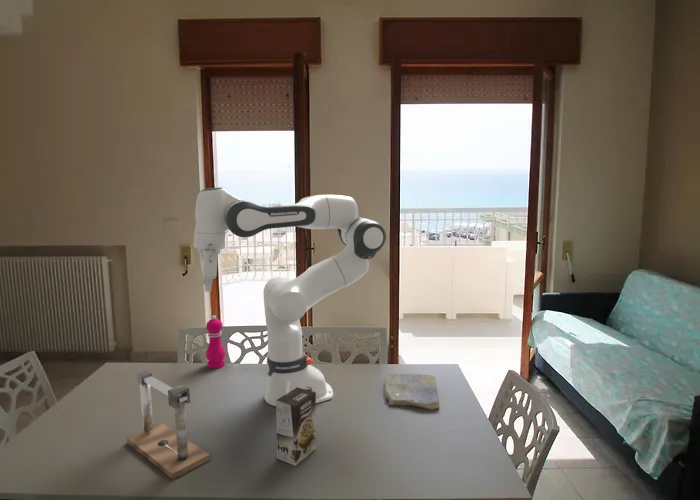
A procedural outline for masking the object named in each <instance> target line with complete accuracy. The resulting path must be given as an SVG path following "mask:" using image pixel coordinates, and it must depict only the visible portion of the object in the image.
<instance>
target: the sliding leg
mask: <svg viewBox="0 0 700 500" xmlns="http://www.w3.org/2000/svg"><path fill="white" fill-rule="evenodd" d="M152 375H153V374H152V373H151V372H150V371H147V370H145V371H143V372H140V373H136V382H137V383H138V384H139V393H140V395H139V396H140V407H141V409H140V410H141V421H142V431H144V432H150V431H151V430H153V427H154V418H153V416H154V415H153V406H152V405H153V404H152V403H153V402H152V393H151V388H154V389H155V390H156V391H159V392H160V393H162V394H164V395H165V396H167V397H168V390H170V389H173V388H174V387H172V386H170V385H168V384H166V383H164V382H163V381H161V380H159V379H157V378H156V377H154V376H152ZM186 400H187V396H186V395H184V394H183V393H182V394H179V395H177V402H179V403H181V402H183V401H186Z"/></svg>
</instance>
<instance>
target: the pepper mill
mask: <svg viewBox="0 0 700 500" xmlns="http://www.w3.org/2000/svg"><path fill="white" fill-rule="evenodd" d="M205 327H206V331H208V332H207V336H208V339H209V344H208V346H207V348H206V349H207V350H206V353H205V358H206V359H207V360H208V361H207V368H209V369H213V370H215V369H220V368H222V367H224V366H225V364H226V362H225V357H226V350H225V347H224V345H223V344H222V340H221V339H222V338H221V336H222V334H223V333H222V328H223V322H222V320H220V319H218V318H217V316H216V315H212V316H211V319H210V320H208V321H207V322H206V325H205Z"/></svg>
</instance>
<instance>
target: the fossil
mask: <svg viewBox="0 0 700 500" xmlns="http://www.w3.org/2000/svg"><path fill="white" fill-rule="evenodd" d="M384 378H385V379H384V380H385V381H384V400H383V402H384V405H387V406H389V405H390V406H394V405H395V406H396V405H397V406H398V405H399V406H414V407H419V408H422V409H427V410H430V411H431V410H436V409H439V408H440V399H439V394H438V388H437V380H436V377H435V376H433V375H431V374H417V373H415V374H412V373H411V374H410V373H409V374H406V373H404V374H403V373H386V374H385V377H384Z"/></svg>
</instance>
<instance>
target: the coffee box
mask: <svg viewBox="0 0 700 500" xmlns="http://www.w3.org/2000/svg"><path fill="white" fill-rule="evenodd" d="M316 406H317V403H316V392H313V391H310V390H306V389H301V388H298V387H297V388H295V389H294V390H292V391H291V392H289V393H287V394H286V395H284V396H282V397H281V398H279V399H277V400H276V406H275V408H276V409H275V411H276V413H275V416H276V417H275V418H276V459H278V460H280V461H282V462H285V463H287V464H289V465H292V466H294V467H296V466H297V465H299V464H300V463H301V462H302V461H303V460H304V459H306V458H307V457H308V456H310V455H311V454H312V453H313V452H314V451H315V450H317V407H316Z"/></svg>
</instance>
